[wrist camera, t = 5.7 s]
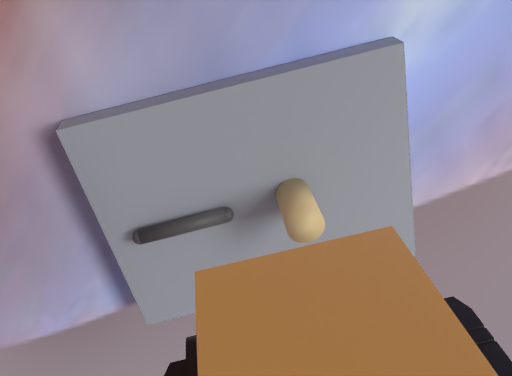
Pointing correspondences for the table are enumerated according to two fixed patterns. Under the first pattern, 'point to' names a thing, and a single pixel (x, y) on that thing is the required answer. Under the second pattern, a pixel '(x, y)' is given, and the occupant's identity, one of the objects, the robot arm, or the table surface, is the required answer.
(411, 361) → the orange toy cube
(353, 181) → the grey slider board
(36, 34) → the table surface
